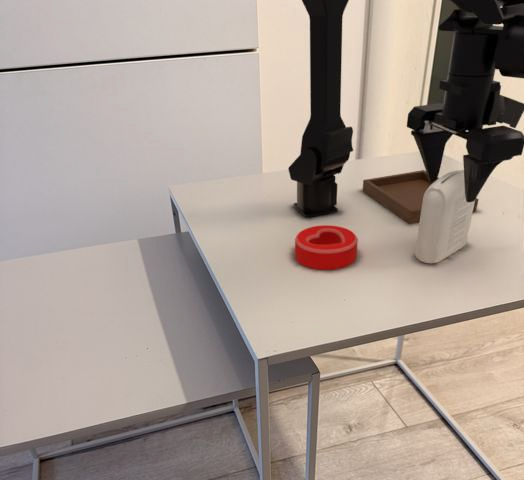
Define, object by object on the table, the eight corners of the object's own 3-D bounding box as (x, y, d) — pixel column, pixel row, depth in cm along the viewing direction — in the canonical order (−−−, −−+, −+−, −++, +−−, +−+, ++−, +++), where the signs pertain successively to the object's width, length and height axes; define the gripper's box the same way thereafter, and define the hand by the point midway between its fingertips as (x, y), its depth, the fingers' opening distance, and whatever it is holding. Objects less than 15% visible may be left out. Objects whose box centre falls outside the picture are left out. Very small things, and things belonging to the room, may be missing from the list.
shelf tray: (409, 224, 93) (411, 211, 92) (362, 191, 107) (363, 179, 105) (476, 211, 96) (478, 199, 95) (422, 181, 110) (423, 169, 109)
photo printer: (445, 237, 88) (459, 161, 81) (470, 244, 86) (485, 167, 78) (410, 258, 83) (420, 179, 75) (434, 267, 80) (448, 186, 73)
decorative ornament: (350, 272, 80) (352, 253, 78) (288, 266, 83) (288, 247, 81) (360, 245, 87) (362, 227, 85) (303, 239, 90) (303, 222, 88)
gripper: (577, 78, 64) (541, 204, 73) (478, 57, 78) (459, 164, 88) (498, 88, 61) (472, 217, 71) (411, 64, 76) (399, 174, 85)
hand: (450, 191), depth 79 cm, fingers open, 9 cm apart
